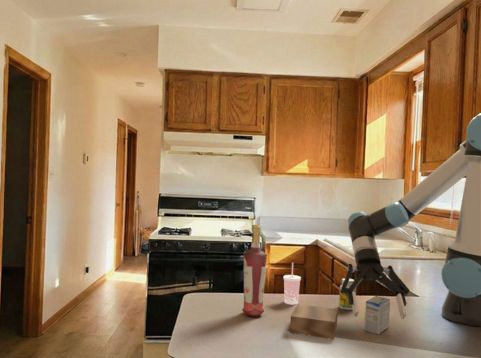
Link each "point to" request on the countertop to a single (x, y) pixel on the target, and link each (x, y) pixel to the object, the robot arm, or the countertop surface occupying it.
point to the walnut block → (314, 321)
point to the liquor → (254, 276)
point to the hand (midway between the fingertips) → (380, 315)
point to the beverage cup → (291, 288)
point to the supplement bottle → (343, 298)
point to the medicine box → (377, 314)
